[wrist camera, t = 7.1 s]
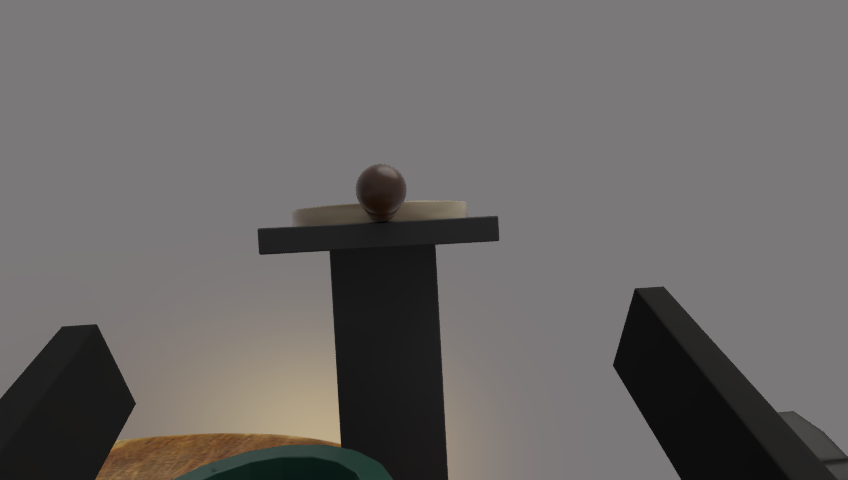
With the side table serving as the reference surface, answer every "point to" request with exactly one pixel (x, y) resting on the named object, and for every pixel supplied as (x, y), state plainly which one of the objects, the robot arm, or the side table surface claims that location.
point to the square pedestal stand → (387, 332)
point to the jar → (293, 465)
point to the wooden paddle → (379, 203)
